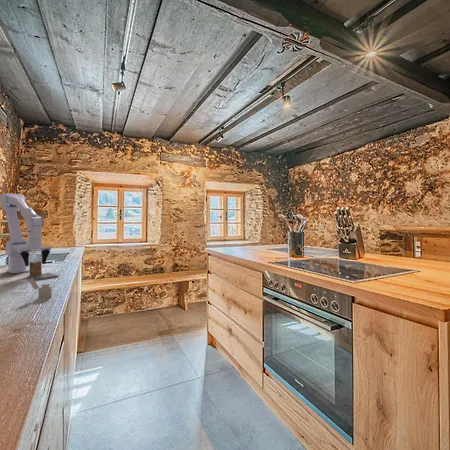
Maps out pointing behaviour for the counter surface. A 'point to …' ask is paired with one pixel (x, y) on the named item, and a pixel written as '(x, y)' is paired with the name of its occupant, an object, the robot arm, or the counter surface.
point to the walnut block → (35, 268)
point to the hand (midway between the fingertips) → (35, 264)
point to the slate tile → (42, 276)
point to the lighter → (42, 289)
